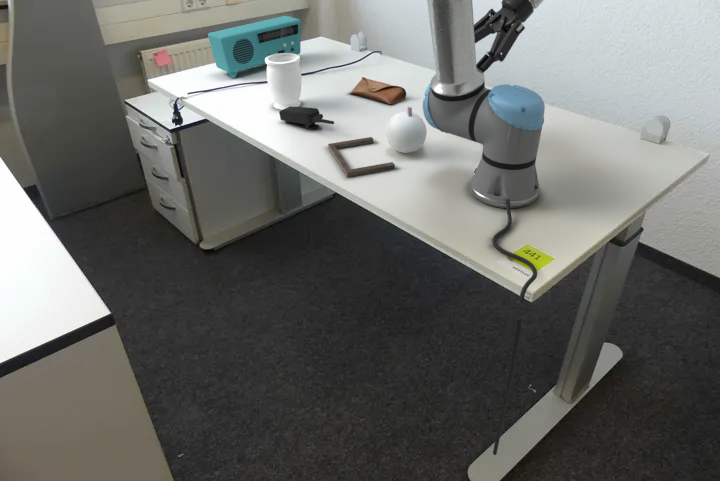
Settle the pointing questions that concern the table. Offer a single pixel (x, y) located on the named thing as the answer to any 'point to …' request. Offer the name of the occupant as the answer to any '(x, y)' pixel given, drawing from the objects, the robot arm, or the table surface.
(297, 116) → the walkie-talkie
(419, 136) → the ornament
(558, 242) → the table surface
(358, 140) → the bay
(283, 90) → the jar
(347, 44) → the table surface
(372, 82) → the sunglasses case
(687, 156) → the table surface
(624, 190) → the table surface
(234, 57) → the radio
